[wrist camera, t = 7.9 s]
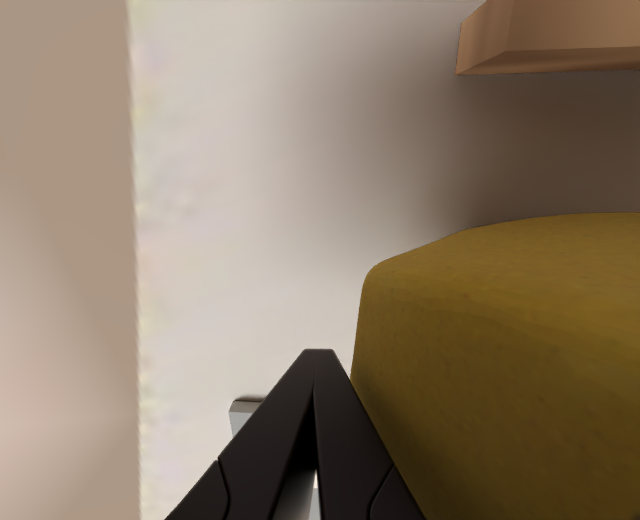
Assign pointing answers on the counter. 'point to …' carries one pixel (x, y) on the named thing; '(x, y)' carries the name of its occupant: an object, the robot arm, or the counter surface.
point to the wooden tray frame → (550, 37)
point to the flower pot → (510, 368)
